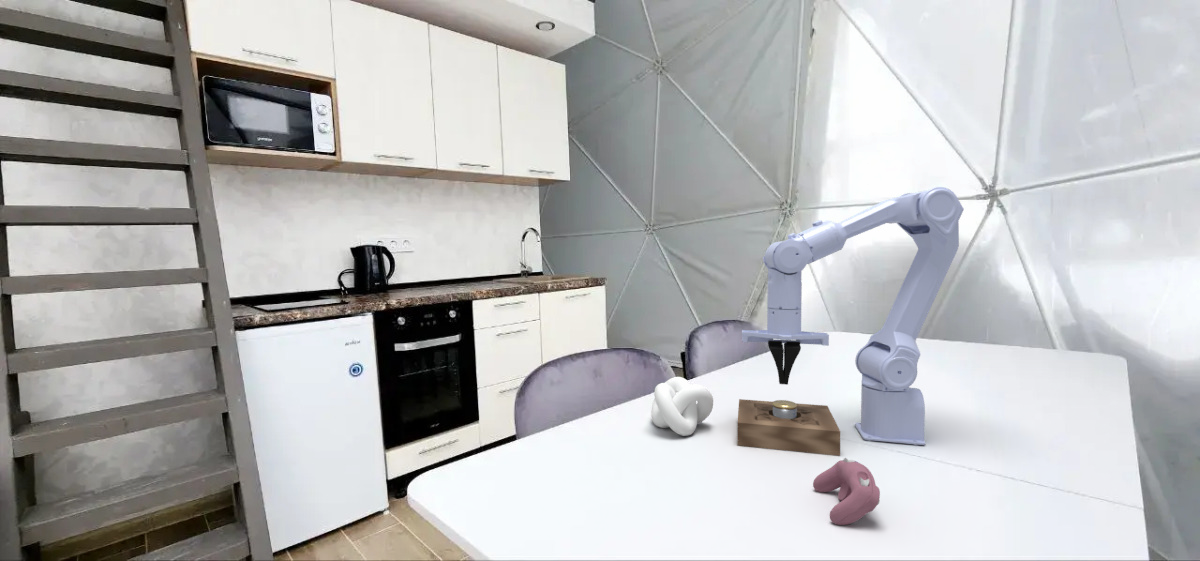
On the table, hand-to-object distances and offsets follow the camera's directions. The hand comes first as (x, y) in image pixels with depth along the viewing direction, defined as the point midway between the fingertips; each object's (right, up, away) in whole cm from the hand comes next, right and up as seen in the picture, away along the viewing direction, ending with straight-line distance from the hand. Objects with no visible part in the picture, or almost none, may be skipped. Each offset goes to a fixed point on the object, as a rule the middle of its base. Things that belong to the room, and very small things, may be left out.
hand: (783, 383), depth 89 cm
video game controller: (-2, -11, -25) cm, 28 cm away
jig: (0, -9, 0) cm, 9 cm away
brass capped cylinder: (0, -10, 0) cm, 9 cm away
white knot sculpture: (-17, -10, +4) cm, 20 cm away
